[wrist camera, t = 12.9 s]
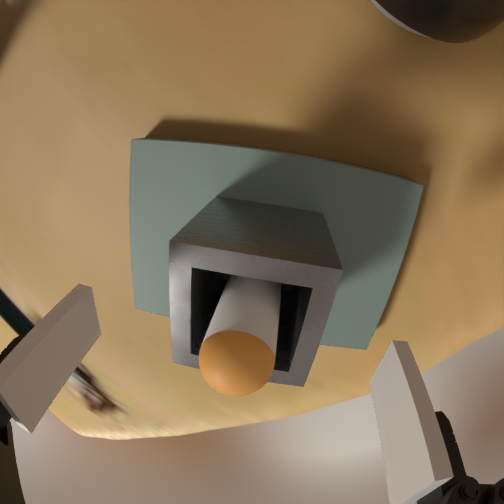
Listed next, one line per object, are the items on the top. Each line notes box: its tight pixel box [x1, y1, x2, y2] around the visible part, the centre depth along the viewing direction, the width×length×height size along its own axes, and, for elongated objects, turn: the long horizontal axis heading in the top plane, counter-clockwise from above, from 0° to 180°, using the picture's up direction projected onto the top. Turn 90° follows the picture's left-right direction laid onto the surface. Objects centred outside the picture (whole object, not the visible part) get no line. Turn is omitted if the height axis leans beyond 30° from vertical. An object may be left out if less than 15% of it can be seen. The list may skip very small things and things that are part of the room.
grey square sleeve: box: [169, 196, 343, 387], centre depth 16 cm, size 7×7×8 cm
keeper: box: [129, 138, 424, 396], centre depth 16 cm, size 20×14×14 cm
